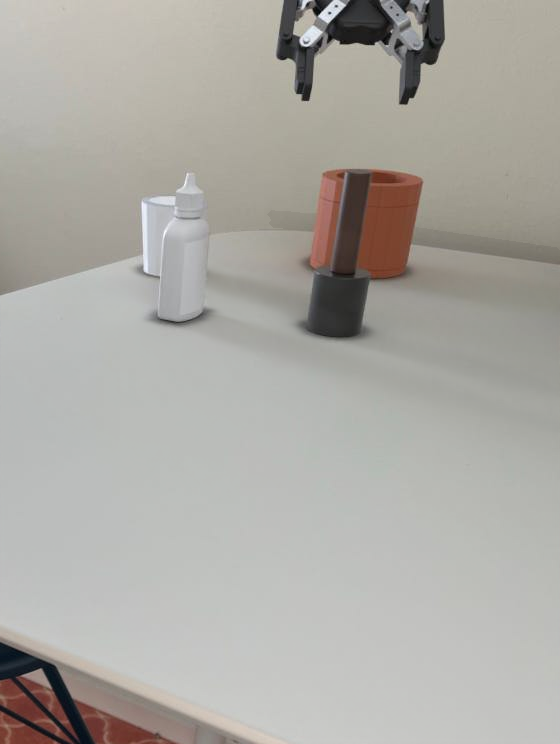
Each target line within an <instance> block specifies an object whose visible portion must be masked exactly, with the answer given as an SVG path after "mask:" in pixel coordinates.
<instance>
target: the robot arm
mask: <svg viewBox="0 0 560 744" xmlns="http://www.w3.org/2000/svg"><path fill="white" fill-rule="evenodd" d="M444 5H445V4H444V0H283V2H282V8H281V15H280V23H279V28H278V37H277V43H276V50H275V57H276V59H277V60H279V61H287V60H288V59H289V60H291V61H293V62H294V64H295V69H294V70H295V73H294V88H293V89H294V92H295V95H301V97H300V101H301V102H310V100H311V95H312V89H313V82H314V71H315V70H314V68H315V58H316V57H317V56H318V55H322V54H323V53H324V52H325V51H326V50H327V49H328V48H329V47H330V46H331V45H332V44H333V43H334V42H335V41H336V42H338V43H339V45H342V46H343V45H344V46H345V45H346V46H349V45H355V44H359V45H362V46H363V45H364V46H375V45H376V43H378V45H379V46H380V47H381V48H382V49H383V51H384V52H385V54H387V56H389V57H394V58H395V59H396V60H397V62H398V63H399V64H400V65H401V66H400V70H399V87H398V88H399V89H398V90H399V91H398V105H400V106H402V105H404V106H407V105H408V104H409V101H410V99H414V98H415V96H416V95H417V92H418V89H419V86H420V83H421V76H422V75H421V74H422V73H421V71H422V69H421V68H422V64H426V65H427V66H433V65H436V63H437V61H438V59H439V55H440V52H441V50H442V47H443V45H444V43H445V40H446V30H445V6H444ZM308 10H312V13H313V15H314V16H315V20H314V21H313V24H312V25H311V26H310V27H309V28H308V29H307V30H306V31H305V32H304V33H303V34H302V35H301V36H299V35H296V34H294V30H295V22H299V21H300V19H302V18H303V17H304V15H305V14H306V11H308ZM408 12H411V13H413V15H414V17H415V20H416V23H417V25H419V26H421V28H422V29H421V30H422V31H421V32H422V33H421V34H422V38H421V36H420V35H418V33H417V32H416V31H415V29H414V28H413V27H412V22H411V19H410V17H409V16H408V14H407V13H408ZM391 31H392V32H391Z"/></svg>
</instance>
